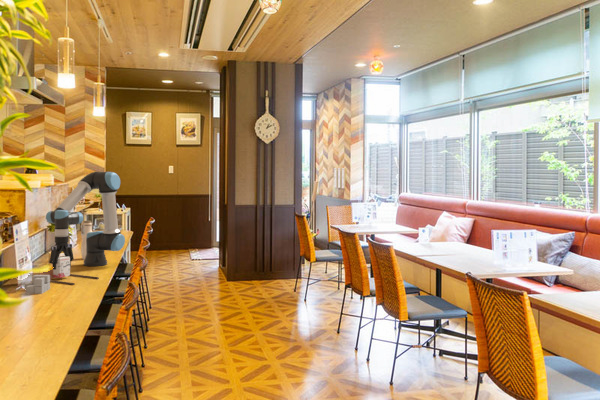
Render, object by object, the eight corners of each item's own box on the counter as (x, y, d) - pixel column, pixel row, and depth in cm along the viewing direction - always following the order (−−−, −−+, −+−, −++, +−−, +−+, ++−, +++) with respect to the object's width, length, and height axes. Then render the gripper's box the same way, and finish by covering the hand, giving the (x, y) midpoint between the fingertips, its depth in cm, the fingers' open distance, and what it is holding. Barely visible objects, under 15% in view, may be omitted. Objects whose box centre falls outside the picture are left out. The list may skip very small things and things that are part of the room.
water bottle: (88, 260, 382) (88, 221, 381) (77, 259, 384) (77, 221, 383) (96, 258, 392) (96, 220, 391) (85, 257, 394) (85, 220, 393)
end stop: (66, 274, 329) (66, 265, 328) (69, 275, 328) (69, 265, 328) (40, 280, 310) (39, 270, 310) (42, 281, 309) (42, 271, 309)
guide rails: (67, 275, 329) (67, 273, 328) (98, 278, 319) (98, 277, 319) (40, 280, 310) (40, 279, 310) (73, 285, 301) (73, 283, 301)
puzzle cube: (27, 289, 290) (27, 274, 289) (50, 289, 291) (50, 274, 290) (18, 294, 278) (17, 279, 277) (41, 294, 279) (41, 279, 278)
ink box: (59, 278, 312) (59, 258, 312) (53, 277, 314) (52, 257, 313) (70, 275, 320) (70, 256, 320) (63, 274, 322) (63, 255, 321)
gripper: (70, 233, 327) (70, 269, 328) (42, 237, 307) (42, 275, 308) (80, 234, 324) (80, 270, 325) (51, 238, 304) (52, 277, 306)
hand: (61, 273), depth 317 cm, fingers closed on ink box, 9 cm apart
